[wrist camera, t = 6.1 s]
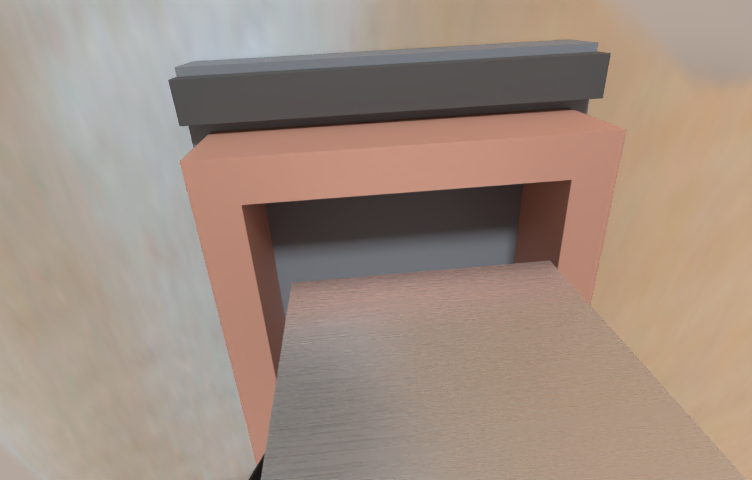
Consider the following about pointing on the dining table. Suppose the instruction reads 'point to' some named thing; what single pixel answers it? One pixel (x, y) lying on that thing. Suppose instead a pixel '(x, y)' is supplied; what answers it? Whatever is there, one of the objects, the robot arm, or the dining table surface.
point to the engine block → (470, 385)
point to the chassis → (388, 175)
